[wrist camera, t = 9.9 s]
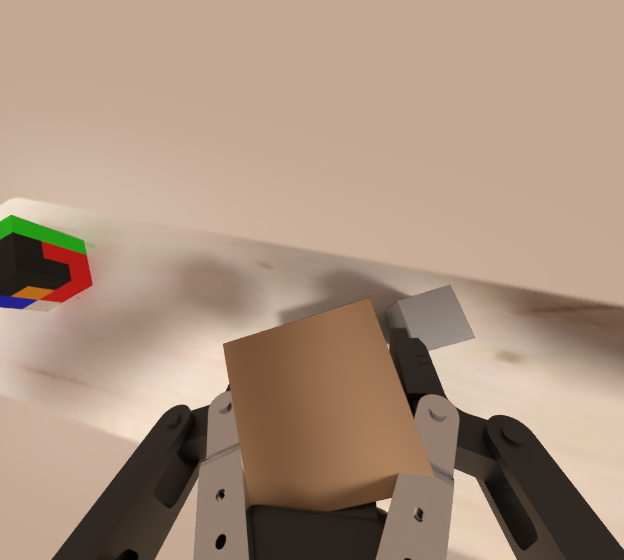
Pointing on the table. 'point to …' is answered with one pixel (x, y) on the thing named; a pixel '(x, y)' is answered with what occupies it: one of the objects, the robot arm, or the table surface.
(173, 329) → the table surface
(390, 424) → the walnut block
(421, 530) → the robot arm
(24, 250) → the puzzle toy
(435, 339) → the slate-grey block
